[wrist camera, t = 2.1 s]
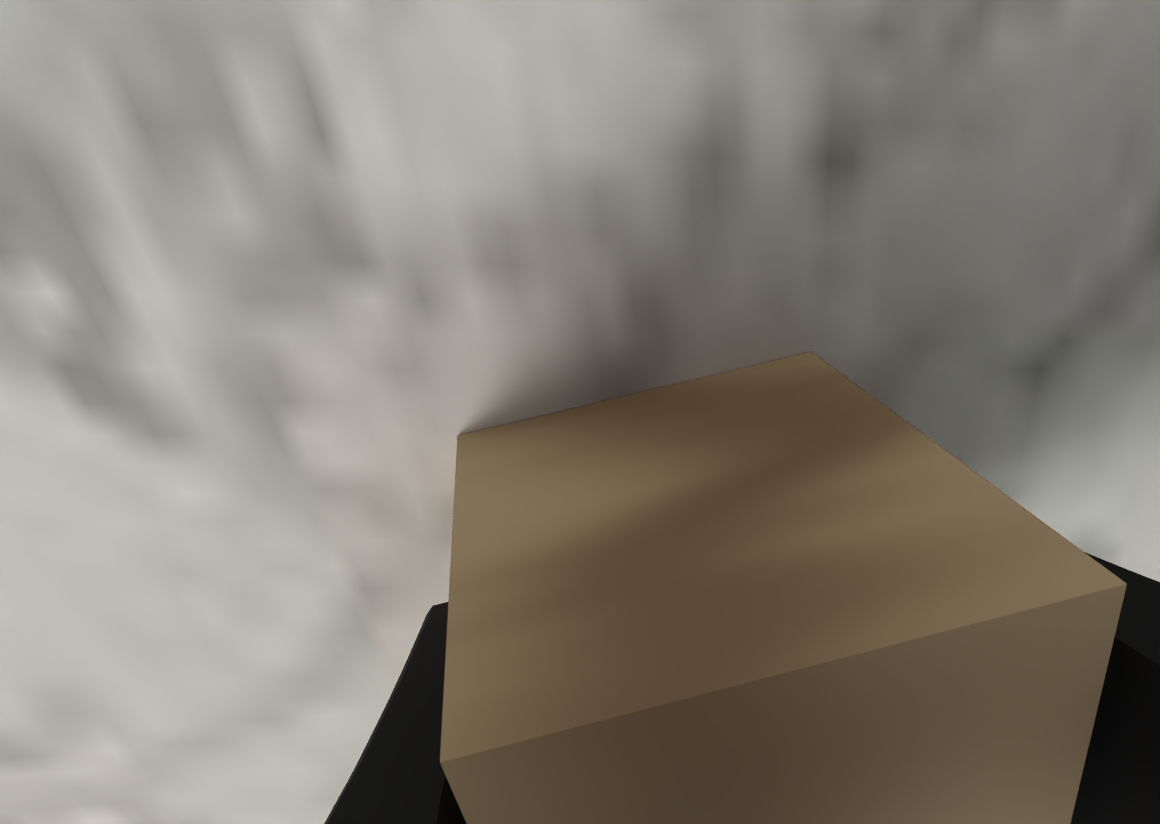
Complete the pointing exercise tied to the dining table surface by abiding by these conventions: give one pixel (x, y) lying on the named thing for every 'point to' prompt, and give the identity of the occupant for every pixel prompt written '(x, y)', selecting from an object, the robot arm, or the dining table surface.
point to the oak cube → (760, 618)
